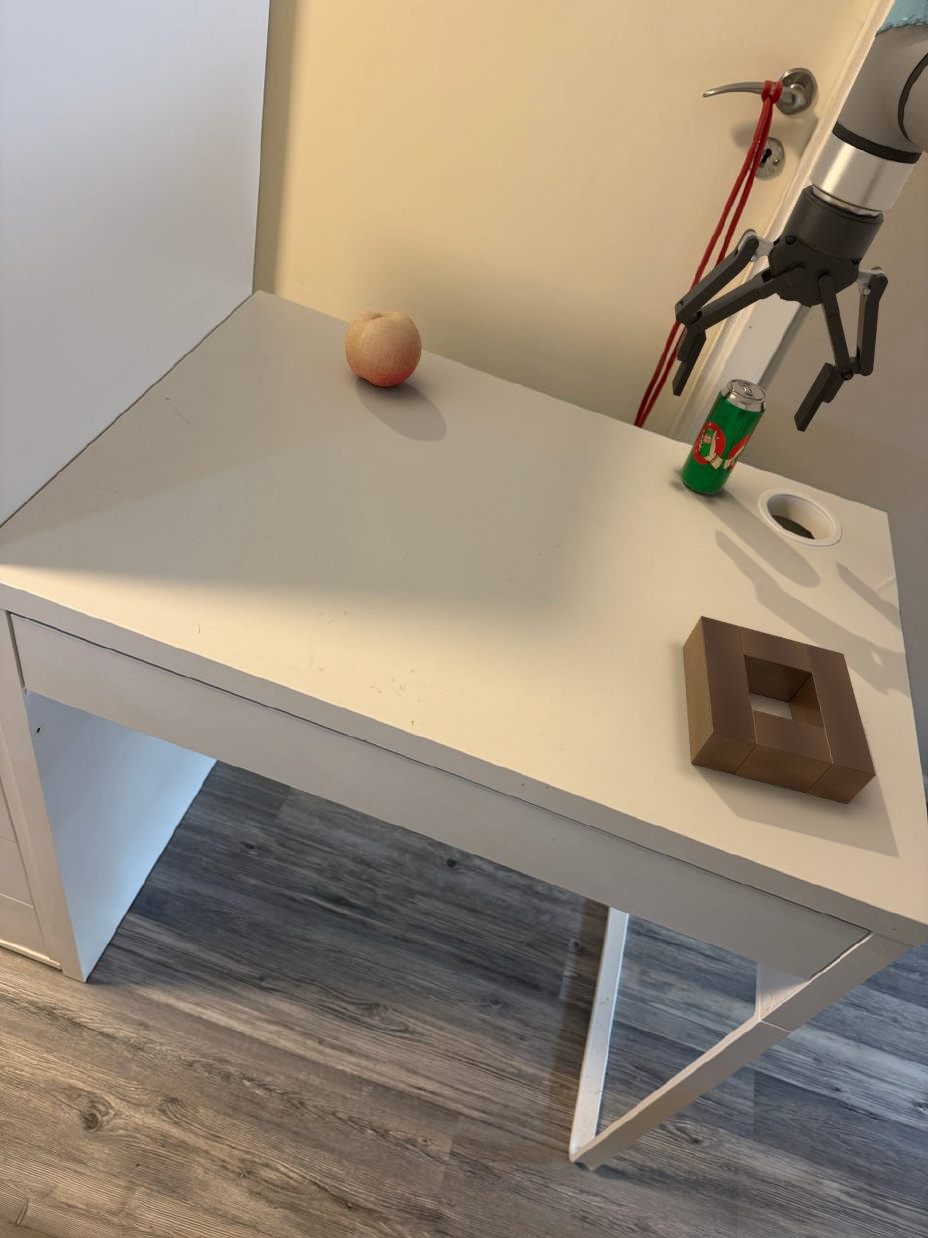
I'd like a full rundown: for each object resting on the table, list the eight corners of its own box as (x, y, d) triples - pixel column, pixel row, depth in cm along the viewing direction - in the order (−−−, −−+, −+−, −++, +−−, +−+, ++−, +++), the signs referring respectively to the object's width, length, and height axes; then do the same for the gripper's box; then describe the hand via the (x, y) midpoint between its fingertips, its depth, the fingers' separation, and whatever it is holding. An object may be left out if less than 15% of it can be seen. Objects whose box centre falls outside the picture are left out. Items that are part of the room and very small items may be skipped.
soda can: (717, 474, 97) (765, 382, 89) (724, 501, 94) (776, 407, 85) (675, 465, 97) (720, 372, 88) (681, 491, 93) (729, 396, 85)
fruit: (386, 356, 99) (397, 291, 94) (426, 392, 96) (440, 326, 90) (328, 366, 95) (336, 298, 89) (368, 404, 91) (379, 336, 86)
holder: (820, 683, 76) (843, 653, 73) (848, 804, 66) (876, 775, 64) (682, 646, 75) (701, 615, 72) (690, 763, 66) (712, 732, 63)
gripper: (966, 223, 77) (842, 420, 92) (708, 144, 76) (624, 357, 91) (992, 254, 72) (856, 458, 87) (714, 170, 70) (624, 392, 85)
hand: (737, 407), depth 89 cm, fingers open, 13 cm apart
